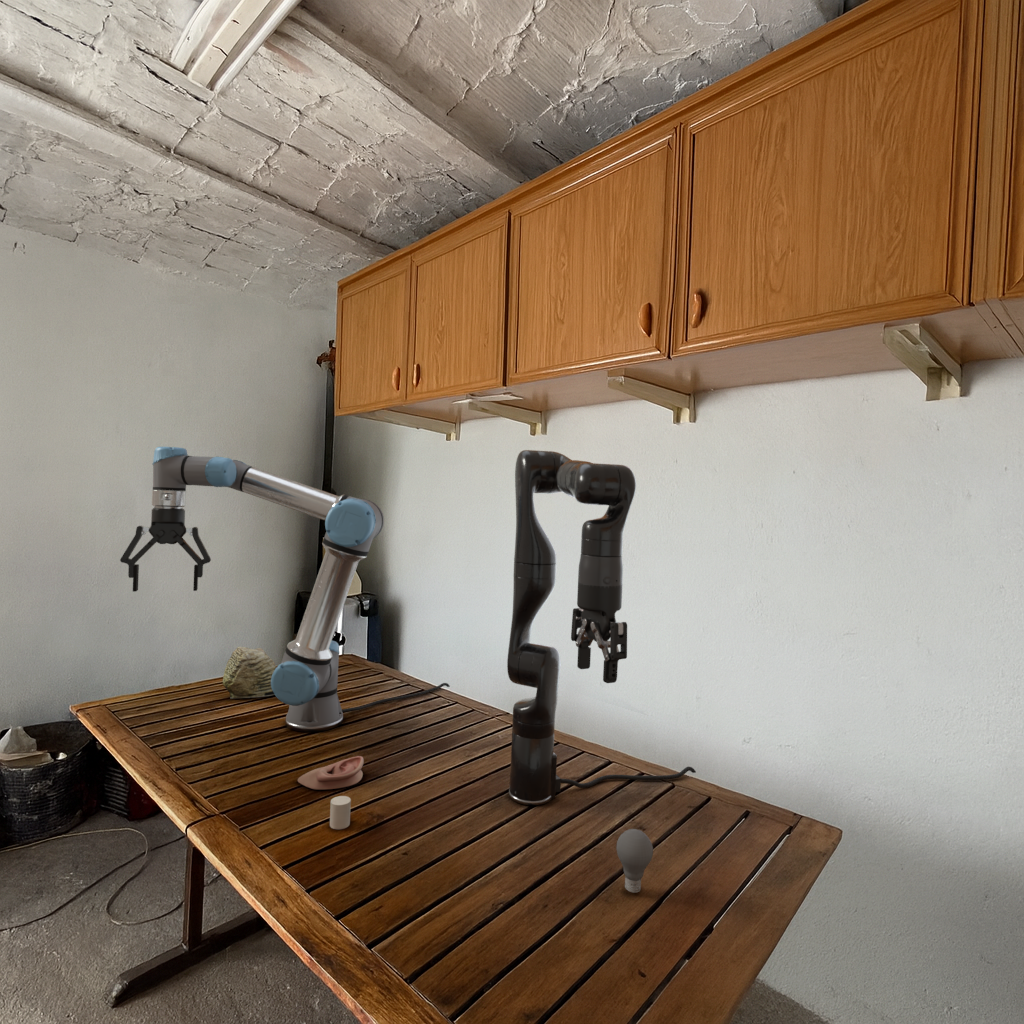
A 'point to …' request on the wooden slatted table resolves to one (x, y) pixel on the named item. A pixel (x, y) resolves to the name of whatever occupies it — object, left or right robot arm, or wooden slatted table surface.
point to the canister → (340, 812)
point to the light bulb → (634, 857)
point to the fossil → (249, 673)
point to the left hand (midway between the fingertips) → (165, 590)
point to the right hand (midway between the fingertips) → (596, 675)
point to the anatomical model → (334, 775)
